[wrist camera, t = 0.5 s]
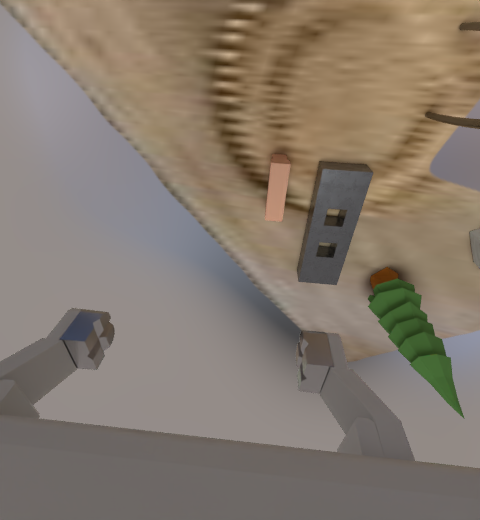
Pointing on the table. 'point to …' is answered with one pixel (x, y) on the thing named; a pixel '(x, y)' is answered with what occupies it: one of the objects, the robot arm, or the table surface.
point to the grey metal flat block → (332, 220)
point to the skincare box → (475, 246)
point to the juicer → (457, 120)
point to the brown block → (277, 187)
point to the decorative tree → (412, 332)
